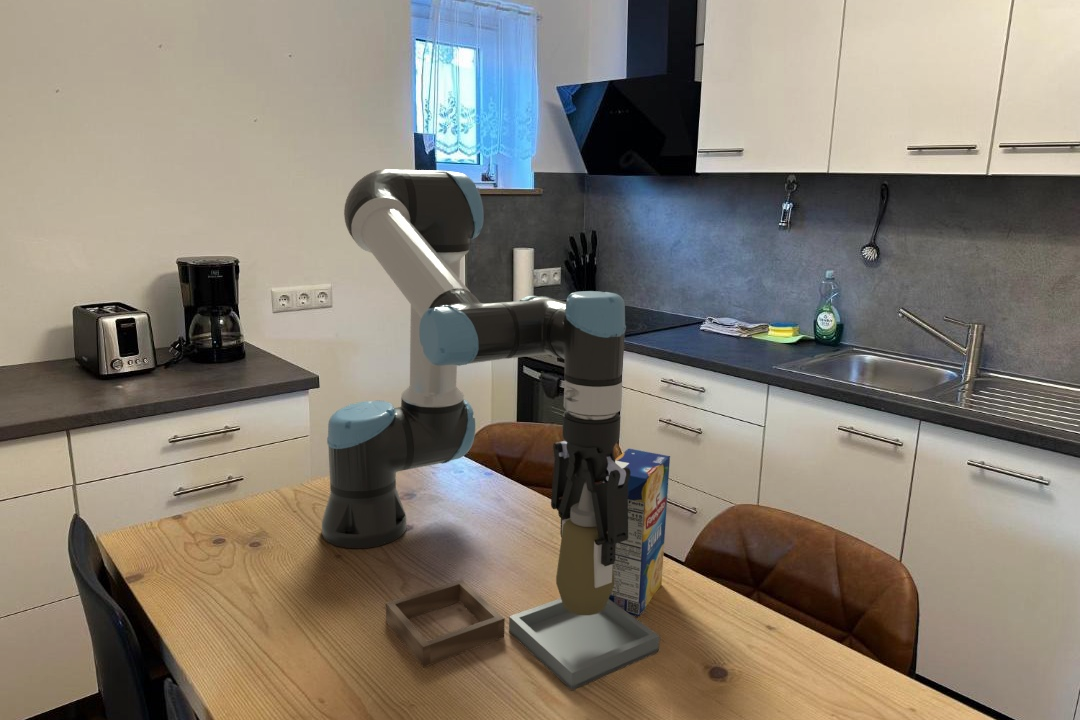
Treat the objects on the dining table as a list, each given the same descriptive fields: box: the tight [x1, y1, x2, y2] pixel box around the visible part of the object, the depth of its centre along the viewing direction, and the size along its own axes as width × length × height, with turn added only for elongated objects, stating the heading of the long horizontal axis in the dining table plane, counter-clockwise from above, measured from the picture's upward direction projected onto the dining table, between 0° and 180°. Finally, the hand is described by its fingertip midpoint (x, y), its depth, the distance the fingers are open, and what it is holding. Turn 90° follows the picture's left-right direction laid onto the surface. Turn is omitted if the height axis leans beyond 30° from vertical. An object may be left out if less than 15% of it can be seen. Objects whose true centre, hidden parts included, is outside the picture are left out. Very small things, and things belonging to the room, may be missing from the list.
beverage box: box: [601, 448, 671, 618], centre depth 113 cm, size 7×11×22 cm, turn 153°
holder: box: [385, 579, 506, 668], centre depth 105 cm, size 12×12×3 cm
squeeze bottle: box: [555, 482, 614, 615], centre depth 100 cm, size 8×8×18 cm
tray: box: [508, 597, 661, 691], centre depth 103 cm, size 15×15×2 cm
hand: (585, 572), depth 101 cm, fingers closed on squeeze bottle, 6 cm apart
